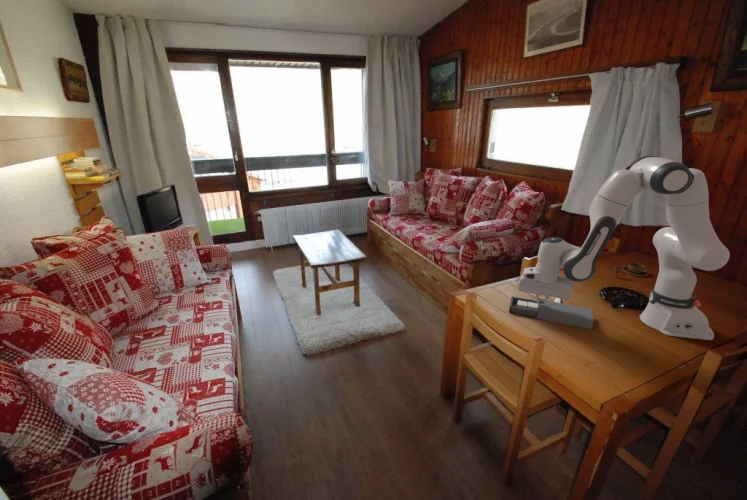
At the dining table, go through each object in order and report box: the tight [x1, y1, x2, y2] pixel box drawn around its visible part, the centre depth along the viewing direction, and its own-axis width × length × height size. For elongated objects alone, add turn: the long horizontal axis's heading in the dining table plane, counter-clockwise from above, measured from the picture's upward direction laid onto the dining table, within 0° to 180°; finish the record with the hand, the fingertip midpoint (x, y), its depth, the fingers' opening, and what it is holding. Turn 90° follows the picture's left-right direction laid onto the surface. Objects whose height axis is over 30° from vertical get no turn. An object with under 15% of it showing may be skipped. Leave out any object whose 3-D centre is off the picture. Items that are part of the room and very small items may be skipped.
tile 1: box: [517, 300, 528, 309], centre depth 147 cm, size 4×4×2 cm
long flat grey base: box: [536, 300, 595, 330], centre depth 140 cm, size 20×10×4 cm, turn 64°
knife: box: [551, 297, 562, 303], centre depth 160 cm, size 30×2×8 cm
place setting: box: [613, 262, 650, 278], centre depth 178 cm, size 18×20×6 cm
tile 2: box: [527, 302, 538, 311], centre depth 145 cm, size 4×4×2 cm
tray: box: [508, 296, 537, 319], centre depth 147 cm, size 11×10×3 cm
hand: (540, 303), depth 143 cm, fingers closed
